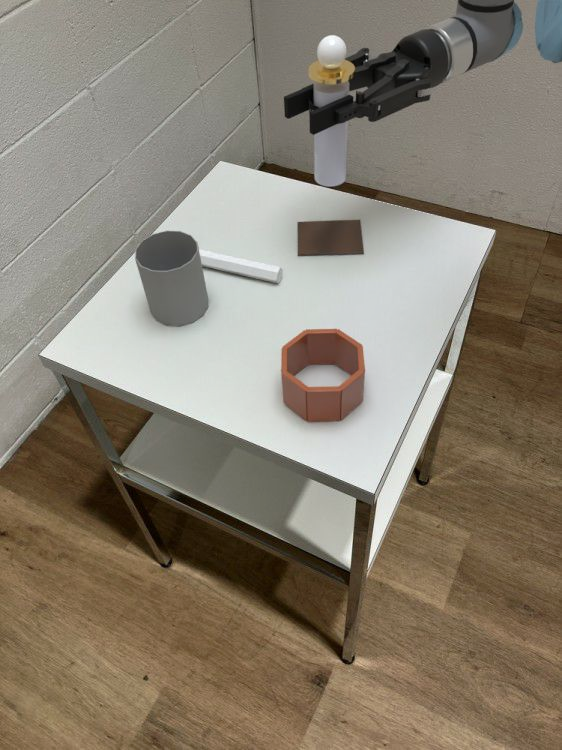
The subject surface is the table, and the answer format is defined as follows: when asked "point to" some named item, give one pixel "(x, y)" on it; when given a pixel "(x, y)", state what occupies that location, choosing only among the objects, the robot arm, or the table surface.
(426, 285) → the table surface
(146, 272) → the cup
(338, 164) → the perfume bottle
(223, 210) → the table surface
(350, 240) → the coaster
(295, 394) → the holder
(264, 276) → the marker
